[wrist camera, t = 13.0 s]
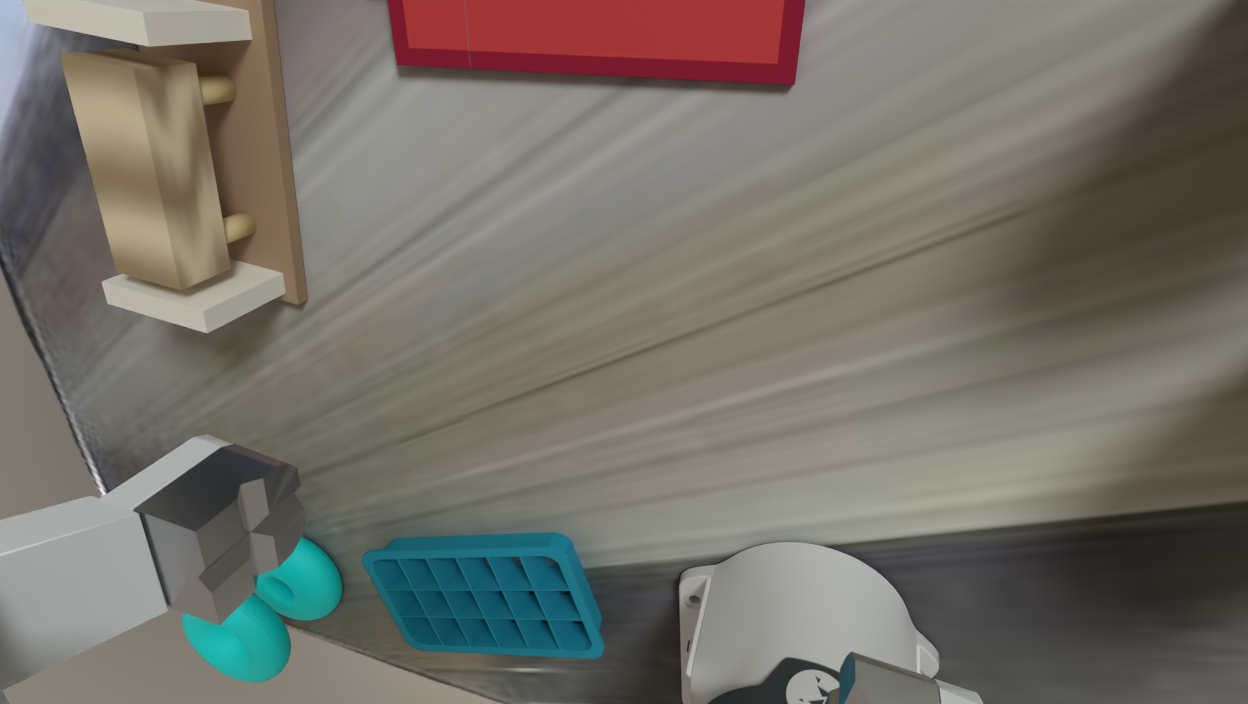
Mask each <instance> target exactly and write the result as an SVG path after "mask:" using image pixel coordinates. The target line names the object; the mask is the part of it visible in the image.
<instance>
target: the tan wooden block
mask: <svg viewBox="0 0 1248 704" xmlns="http://www.w3.org/2000/svg"><path fill="white" fill-rule="evenodd" d="M59 55H60V59H61V63H62V67H63V70H64V74H65V78H66V82H67V85H68V89H69V93H70V97H71V101H72V104H73V108H74V112H75V116H76V120H77V123H78V127H79V131H80V135H81V138H82V142H83V146H84V150H85V154H86V157H87V161H88V165H89V169H90V173H91V176H92V180H93V184H94V188H95V191H96V195H97V199H98V203H99V207H100V210H101V214H102V218H103V222H104V225H105V229H106V233H107V237H108V241H109V244H110V248H111V252H112V256H113V260H114V263H115V267H116V271H117V272H118V273H122V274H125V275H129V276H132V277H136V278H139V279H143V280H146V281H150V282H153V283H156V284H160V285H163V286H167V287H170V288H174V289H177V290H183V289H186V288H188V287H190V286H193V285H195V284H197V283H200V282H202V281H204V280H206V279H209V278H211V277H213V276H216V275H218V274H220V273H223V272H225V271H227V270H230V269H231V266H230V260H229V254H228V248H227V242H226V237H225V231H224V225H223V219H222V213H221V208H220V202H219V196H218V190H217V184H216V179H215V173H214V167H213V161H212V155H211V150H210V144H209V138H208V132H207V126H206V121H205V115H204V109H203V103H202V97H201V92H200V86H199V80H198V74H197V68H196V63H193V62H188V61H183V60H178V59H174V58H169V57H164V56H159V55H154V54H150V53H145V52H140V51H135V50H130V49H114V50H99V51H84V52H70V53H59Z"/></svg>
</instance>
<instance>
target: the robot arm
mask: <svg viewBox="0 0 1248 704" xmlns="http://www.w3.org/2000/svg"><path fill="white" fill-rule="evenodd" d="M300 486H301V483H300V478H299V473H298V468H297V467H294V466H292V465H290V464H288V463H285V462H282V461H280V460H277V459H274V458H272V457H269V456H266V455H263V454H261V453H258V452H255V451H253V450H250V449H247V448H244V447H242V446H239V445H236V444H233V443H230V442H227V441H224V440H221V439H219V438H216V437H213V436H210V435H202V436H197V437H193V438H192V439H190V440H189V441H187V442H186V443H184V444H182V445H181V446H179V447H178V448H176V449H175V450H173V451H172V452H170V453H169V454H167V455H166V456H164V457H163V458H161V459H160V460H158V461H157V462H155V463H154V464H152V465H150V466H149V467H147V468H146V469H144V470H143V471H141V472H140V473H138V474H137V475H135V476H134V477H132V478H131V479H129V480H128V481H126V482H125V483H123V484H122V485H120V486H118V487H117V488H115V489H114V490H112V491H111V492H109V493H108V494H106V495H105V496H103V497H102V498H96V497H94V496H89V497H85V498H81V499H77V500H73V501H70V502H66V503H62V504H59V505H55V506H51V507H48V508H44V509H40V510H37V511H33V512H29V513H25V514H22V515H18V516H14V517H10V518H7V519H3V520H0V704H9V702H8V700H7V698H6V697H5V695H4V693H3V691H2V690H4V689H6V688H8V687H10V686H12V685H14V684H17V683H19V682H21V681H23V680H25V679H27V678H29V677H31V676H33V675H35V674H37V673H39V672H42V671H44V670H46V669H48V668H50V667H52V666H54V665H56V664H58V663H60V662H62V661H65V660H67V659H68V658H71V657H73V656H75V655H77V654H79V653H81V652H83V651H85V650H87V649H90V648H91V647H94V646H96V645H97V644H100V643H102V642H104V641H106V640H108V639H110V638H112V637H115V636H116V635H119V634H121V633H123V632H125V631H126V630H129V629H131V628H133V627H135V626H137V625H140V624H142V623H144V622H146V621H148V620H150V619H152V618H154V617H156V616H158V615H160V614H162V613H165V612H167V611H168V607H169V608H172V609H175V610H178V611H181V612H183V613H186V614H189V615H191V616H194V617H197V618H200V619H203V620H205V621H208V622H211V623H214V624H216V625H219V626H220V625H221V624H222V623H223V622H224V621H225V620H226V619H227V618H228V617H229V616H230V615H231V614H232V613H233V612H234V611H235V610H236V609H237V608H238V607H239V606H240V605H241V604H242V603H243V602H244V601H245V600H246V599H247V598H248V597H249V596H250V595H251V594H253V593H254V592H255V591H256V586H257V580H258V575H261V574H264V573H266V572H269V571H271V570H274V569H277V568H279V567H280V566H281V565H282V564H283V563H284V562H285V561H286V560H287V559H288V558H289V556H290V555H291V554H292V553H293V552H294V550H295V548H296V546H297V545H298V543H299V541H300V539H301V537H302V535H303V531H304V526H305V521H306V519H305V511H304V507H303V505H302V504H301V503H300V501H299V500H298V498H297V497H296V496H295V494H294V492H295V491H296V490H297V489H298V488H299V487H300ZM696 596H697V597H696ZM679 608H680V646H681V684H682V701H683V704H983V702H982V700H981V698H980V697H979V695H978V694H977V693H975V692H972V691H969V690H966V689H963V688H960V687H957V686H954V685H951V684H948V683H945V682H942V681H939V680H936V679H931V678H932V677H933V676H934V675H935V674H936V673H937V672H938V670H939V654H938V652H937V650H936V649H935V647H934V646H933V645H932V644H931V643H930V642H929V641H928V640H927V639H926V638H925V637H924V636H923V635H922V634H920V633H919V632H918V631H917V630H916V628H915V627H914V625H913V623H912V621H911V619H910V616H909V614H908V611H907V608H906V606H905V604H904V602H903V600H902V599H901V597H900V595H899V594H898V593H897V591H896V590H895V589H894V588H893V586H892V585H891V584H890V583H889V582H888V581H887V580H886V579H885V578H884V577H883V576H881V575H880V574H879V573H878V572H876V571H875V570H874V569H872V568H871V567H869V566H868V565H866V564H865V563H863V562H861V561H859V560H858V559H856V558H854V557H851V556H849V555H847V554H845V553H842V552H839V551H837V550H834V549H830V548H827V547H823V546H818V545H813V544H807V543H796V542H780V543H769V544H764V545H759V546H755V547H752V548H749V549H746V550H744V551H742V552H740V553H738V554H736V555H734V556H732V557H731V558H729V559H727V560H725V561H723V562H721V563H719V564H716V565H709V566H701V567H695V568H691V569H688V570H685V571H684V572H683V573H682V574H681V577H680V584H679Z"/></svg>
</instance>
